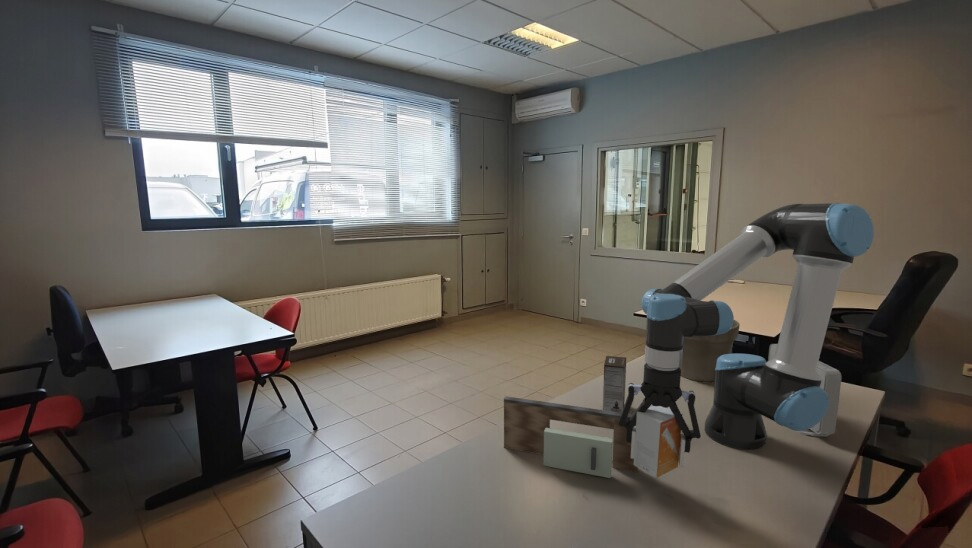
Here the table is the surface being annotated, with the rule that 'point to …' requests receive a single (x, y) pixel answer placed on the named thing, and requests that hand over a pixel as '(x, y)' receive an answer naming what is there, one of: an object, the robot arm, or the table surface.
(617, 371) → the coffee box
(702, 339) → the plant pot
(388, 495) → the table surface
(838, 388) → the network device
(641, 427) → the small box
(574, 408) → the wall frame
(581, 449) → the sliding door
